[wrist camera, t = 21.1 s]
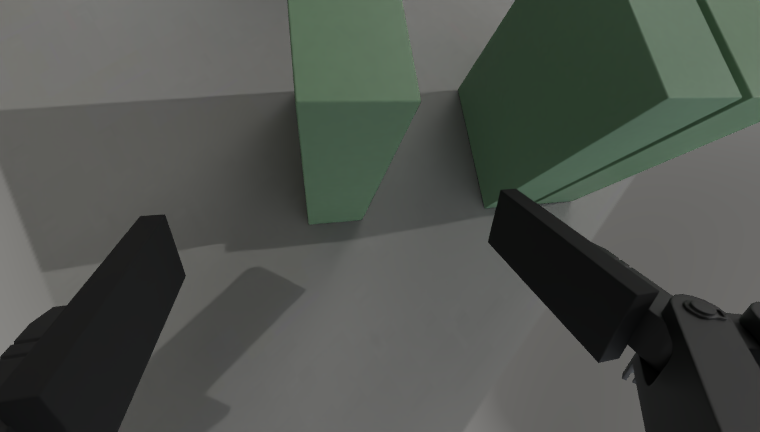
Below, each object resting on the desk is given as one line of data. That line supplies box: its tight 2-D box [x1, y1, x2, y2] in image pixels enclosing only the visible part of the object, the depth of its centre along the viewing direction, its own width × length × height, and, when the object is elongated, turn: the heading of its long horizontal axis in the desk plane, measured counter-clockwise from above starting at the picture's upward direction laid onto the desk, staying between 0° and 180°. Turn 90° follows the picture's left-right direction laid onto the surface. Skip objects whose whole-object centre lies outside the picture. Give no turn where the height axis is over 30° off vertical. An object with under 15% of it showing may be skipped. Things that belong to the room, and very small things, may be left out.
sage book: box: [287, 0, 421, 224], centre depth 16 cm, size 4×10×13 cm, turn 8°
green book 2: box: [534, 0, 760, 204], centre depth 20 cm, size 4×10×13 cm, turn 8°
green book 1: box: [458, 0, 742, 208], centre depth 19 cm, size 4×10×13 cm, turn 8°
